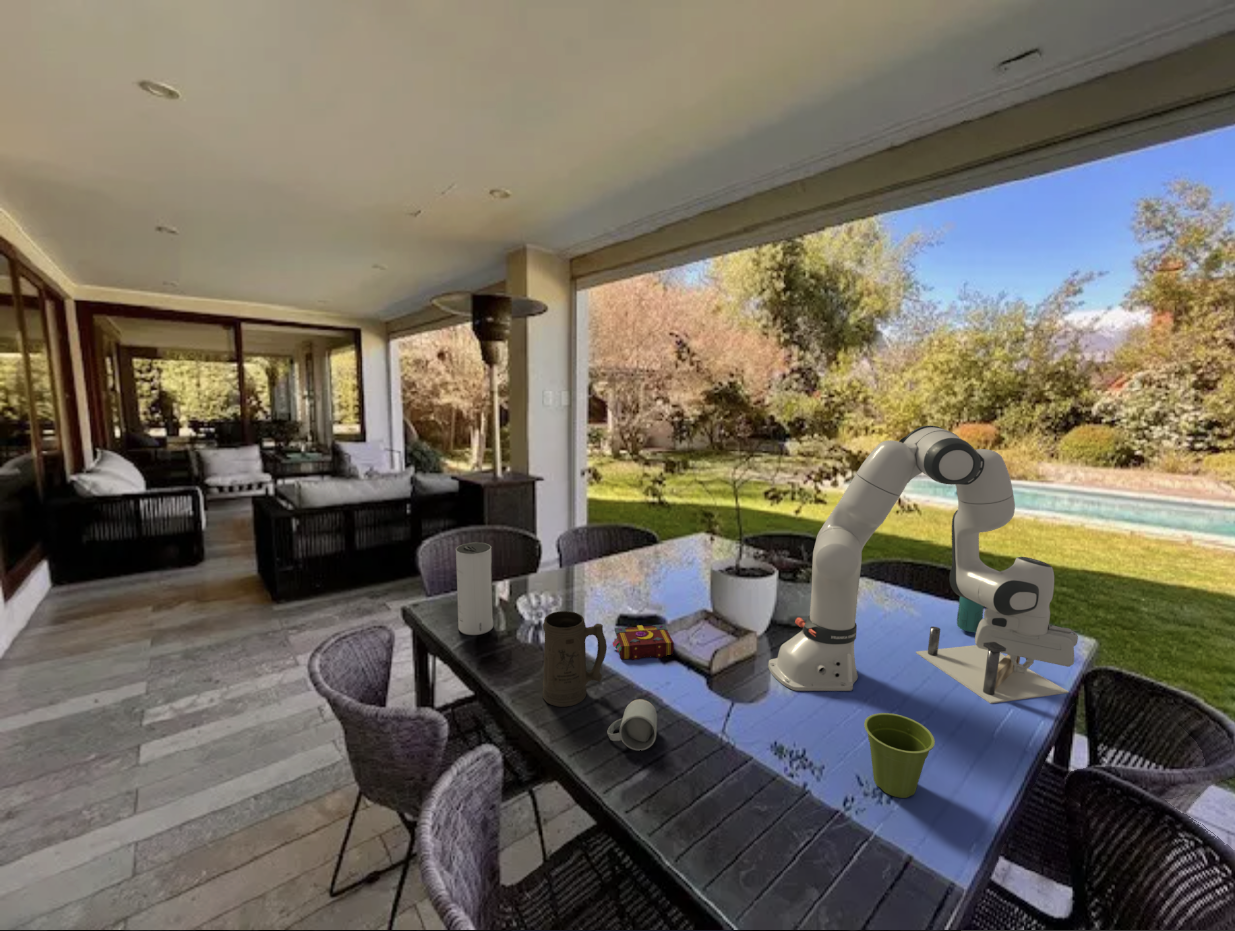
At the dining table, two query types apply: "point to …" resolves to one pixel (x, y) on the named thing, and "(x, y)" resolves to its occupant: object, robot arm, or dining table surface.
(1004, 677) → the gate
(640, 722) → the ceramic mug
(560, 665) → the beer stein
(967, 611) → the beverage bottle
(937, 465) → the robot arm
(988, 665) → the gate post
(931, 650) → the post
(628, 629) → the decorative book
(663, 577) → the dining table surface
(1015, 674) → the mat
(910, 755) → the plant pot
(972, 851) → the dining table surface
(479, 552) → the speaker
